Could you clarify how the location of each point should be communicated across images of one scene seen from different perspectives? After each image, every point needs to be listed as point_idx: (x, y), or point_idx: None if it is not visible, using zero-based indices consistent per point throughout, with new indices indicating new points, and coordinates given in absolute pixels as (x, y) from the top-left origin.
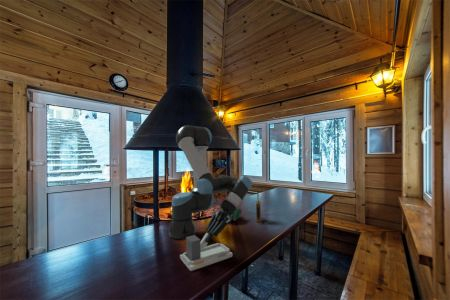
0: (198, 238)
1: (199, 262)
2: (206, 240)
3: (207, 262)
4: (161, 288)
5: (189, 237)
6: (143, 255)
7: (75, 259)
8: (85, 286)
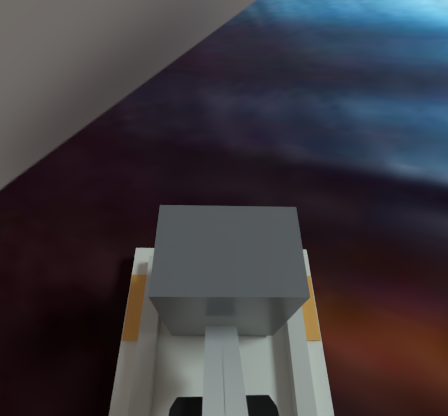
0: (190, 292)
1: (138, 309)
2: (174, 407)
3: (117, 368)
4: (116, 136)
5: (269, 227)
6: (402, 137)
7: (436, 12)
8: (266, 23)
